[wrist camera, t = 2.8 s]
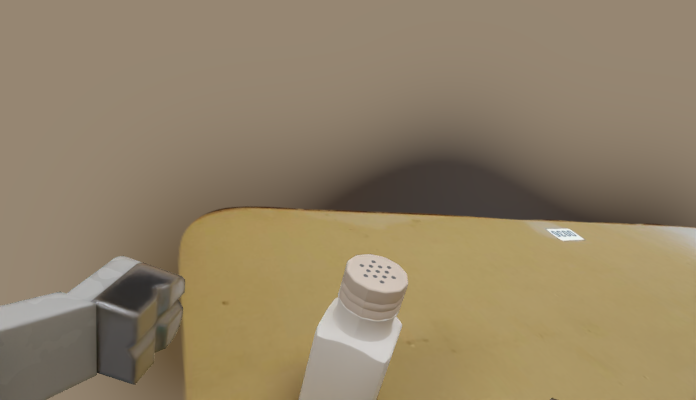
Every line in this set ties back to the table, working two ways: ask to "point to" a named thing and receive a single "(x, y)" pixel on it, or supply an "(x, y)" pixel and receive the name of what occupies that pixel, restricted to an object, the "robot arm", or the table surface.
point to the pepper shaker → (357, 332)
